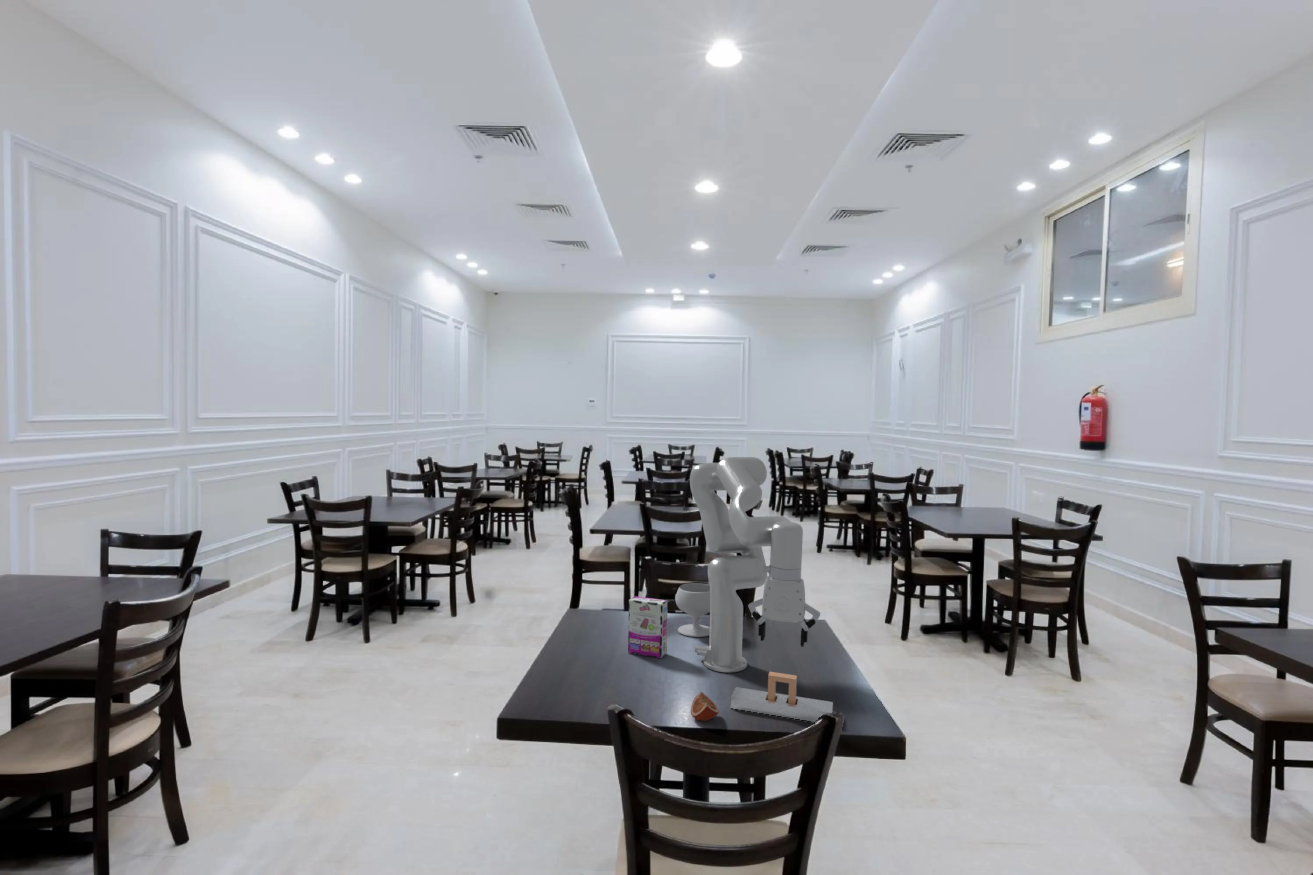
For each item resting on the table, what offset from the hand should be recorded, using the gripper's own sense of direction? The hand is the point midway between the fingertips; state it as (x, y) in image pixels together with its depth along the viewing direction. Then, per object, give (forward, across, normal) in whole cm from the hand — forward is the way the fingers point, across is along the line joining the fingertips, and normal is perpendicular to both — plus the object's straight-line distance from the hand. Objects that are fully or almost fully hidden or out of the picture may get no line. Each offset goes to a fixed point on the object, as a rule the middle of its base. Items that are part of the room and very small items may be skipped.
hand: (782, 641), depth 153 cm
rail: (+17, 0, -1) cm, 17 cm away
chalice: (+19, -34, +47) cm, 61 cm away
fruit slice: (+18, -16, -11) cm, 26 cm away
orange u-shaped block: (+17, 0, -1) cm, 17 cm away
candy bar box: (+18, -42, +23) cm, 52 cm away
